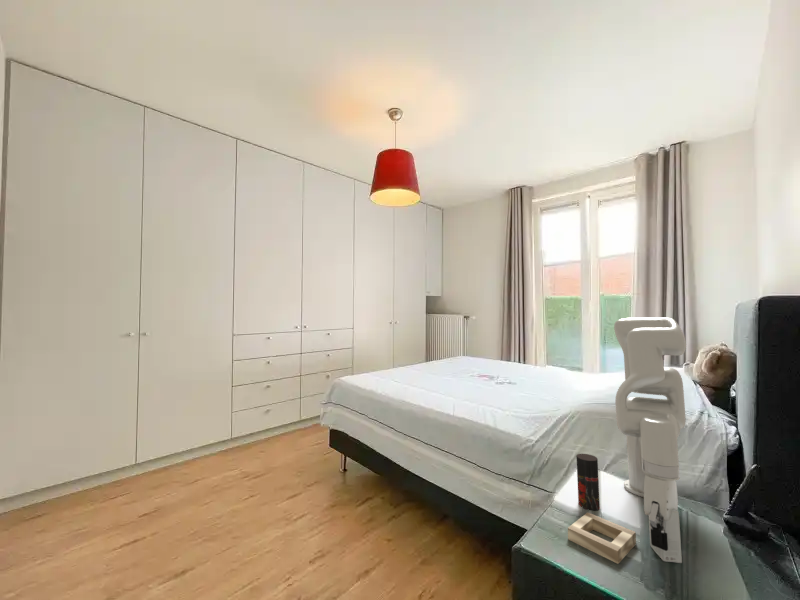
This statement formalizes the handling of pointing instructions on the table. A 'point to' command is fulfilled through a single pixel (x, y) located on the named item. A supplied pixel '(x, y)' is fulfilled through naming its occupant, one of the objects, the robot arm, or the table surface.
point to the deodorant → (588, 482)
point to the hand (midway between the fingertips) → (664, 540)
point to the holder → (609, 550)
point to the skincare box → (670, 539)
